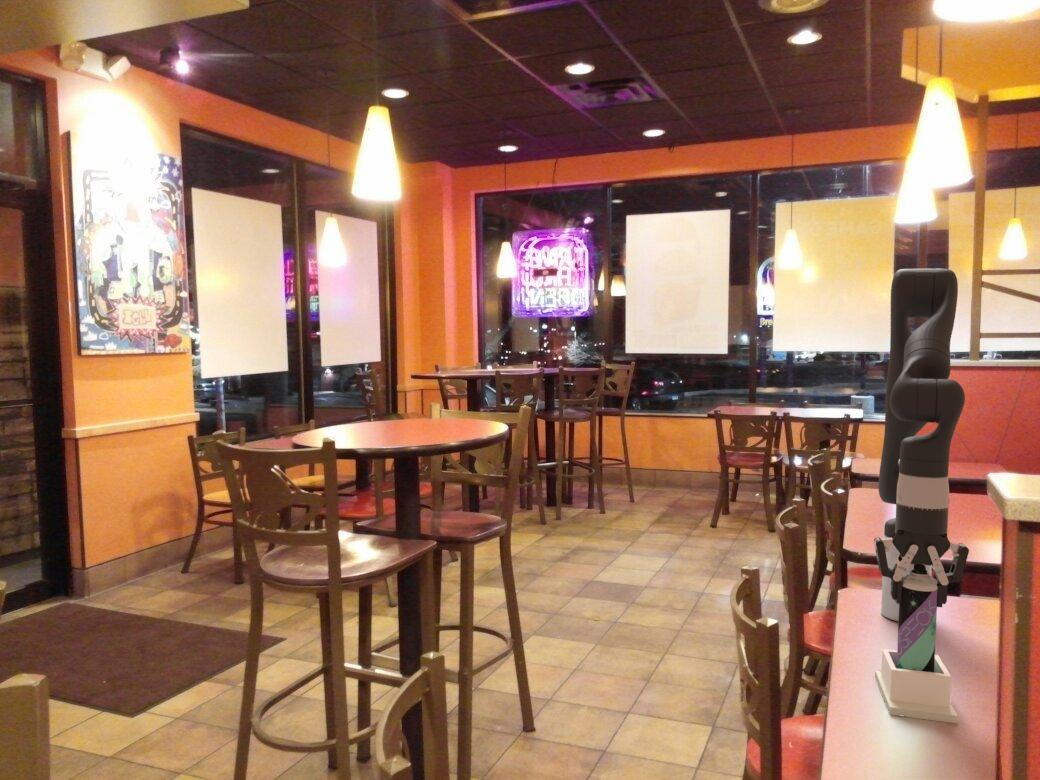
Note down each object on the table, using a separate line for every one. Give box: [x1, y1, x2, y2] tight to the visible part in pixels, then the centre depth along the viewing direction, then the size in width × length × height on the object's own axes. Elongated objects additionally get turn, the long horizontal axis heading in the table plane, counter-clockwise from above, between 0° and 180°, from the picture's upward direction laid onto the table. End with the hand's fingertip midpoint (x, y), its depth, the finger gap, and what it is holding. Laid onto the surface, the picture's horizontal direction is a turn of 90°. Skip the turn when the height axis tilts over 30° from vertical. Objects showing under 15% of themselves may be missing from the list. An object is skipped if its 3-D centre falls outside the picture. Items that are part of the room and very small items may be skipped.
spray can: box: [896, 564, 938, 673], centre depth 127 cm, size 6×6×20 cm
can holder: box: [874, 648, 958, 724], centre depth 128 cm, size 14×10×6 cm
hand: (917, 603), depth 127 cm, fingers closed on spray can, 5 cm apart
